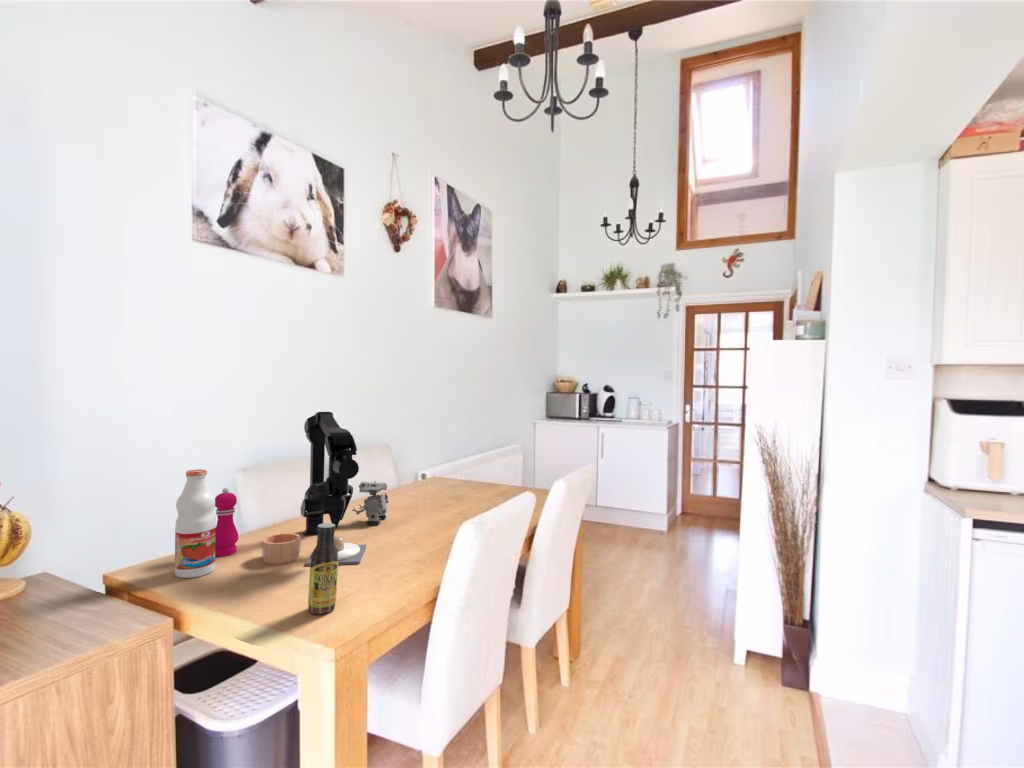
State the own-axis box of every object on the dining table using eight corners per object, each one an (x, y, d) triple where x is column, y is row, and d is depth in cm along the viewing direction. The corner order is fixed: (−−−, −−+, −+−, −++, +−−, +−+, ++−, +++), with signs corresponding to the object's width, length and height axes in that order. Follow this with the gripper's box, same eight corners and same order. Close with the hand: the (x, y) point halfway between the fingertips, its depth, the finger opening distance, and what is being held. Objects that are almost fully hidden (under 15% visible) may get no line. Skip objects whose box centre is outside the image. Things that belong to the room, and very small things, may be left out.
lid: (319, 546, 159) (319, 532, 159) (362, 545, 161) (362, 531, 161) (309, 561, 146) (310, 545, 146) (356, 560, 148) (356, 544, 148)
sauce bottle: (311, 618, 114) (313, 531, 114) (304, 608, 119) (306, 524, 119) (341, 611, 118) (342, 526, 118) (333, 601, 123) (334, 520, 123)
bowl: (268, 553, 155) (269, 533, 155) (303, 551, 157) (303, 532, 157) (257, 565, 145) (258, 544, 145) (294, 563, 147) (295, 543, 147)
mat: (316, 548, 160) (317, 545, 160) (365, 546, 162) (366, 544, 162) (305, 566, 145) (305, 563, 145) (359, 564, 148) (359, 561, 148)
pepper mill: (226, 558, 150) (227, 491, 150) (205, 556, 151) (206, 489, 151) (243, 550, 157) (244, 486, 157) (223, 548, 159) (224, 484, 158)
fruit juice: (204, 563, 146) (206, 466, 145) (221, 570, 140) (222, 470, 140) (168, 573, 138) (169, 471, 137) (184, 581, 133) (185, 475, 132)
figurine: (361, 517, 195) (361, 479, 195) (390, 519, 194) (390, 480, 194) (351, 524, 186) (352, 484, 186) (382, 526, 185) (383, 485, 185)
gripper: (317, 467, 161) (316, 516, 162) (303, 479, 143) (302, 534, 143) (353, 467, 163) (352, 515, 163) (343, 479, 145) (343, 533, 145)
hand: (337, 524), depth 154 cm, fingers open, 9 cm apart
